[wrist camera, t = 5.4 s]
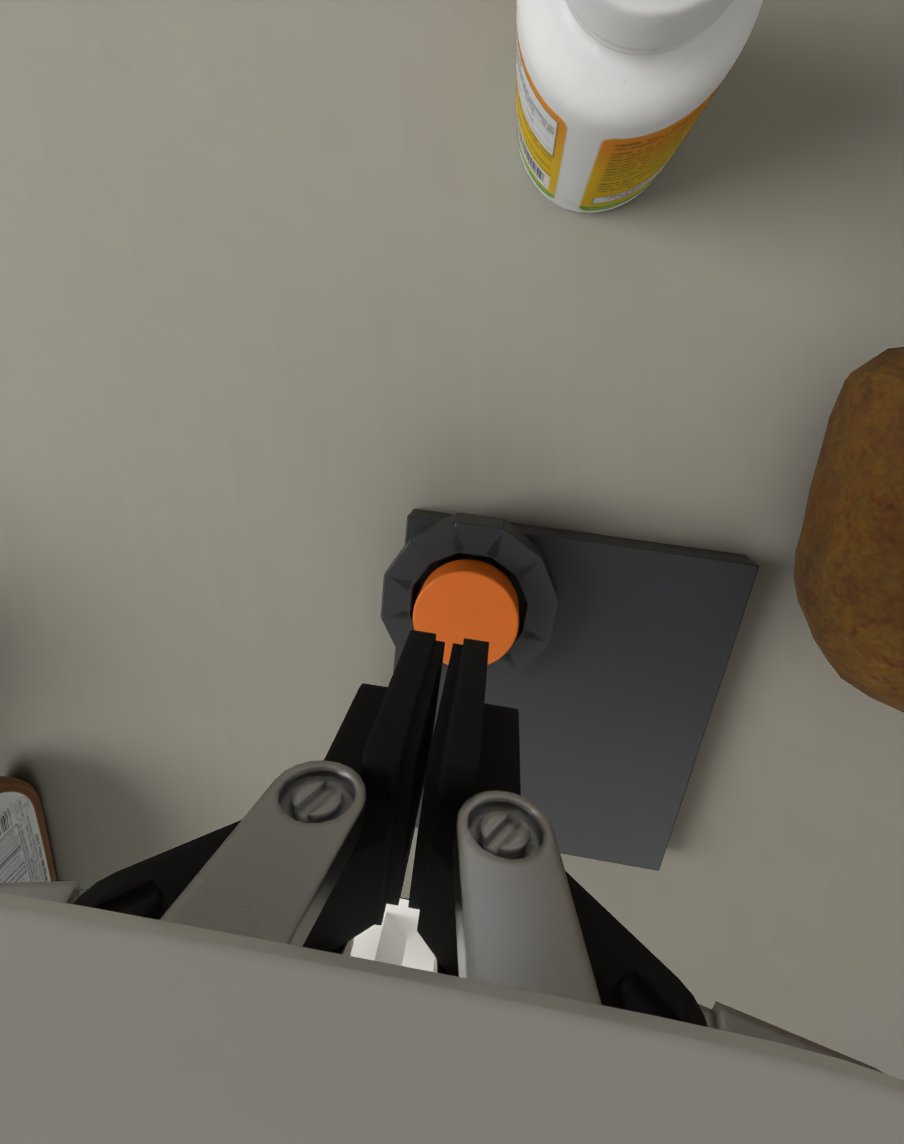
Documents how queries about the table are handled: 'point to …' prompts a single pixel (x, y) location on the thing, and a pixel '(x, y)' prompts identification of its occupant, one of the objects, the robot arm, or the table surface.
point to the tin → (23, 835)
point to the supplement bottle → (616, 89)
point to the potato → (859, 533)
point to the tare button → (468, 607)
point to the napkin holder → (395, 940)
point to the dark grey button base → (594, 667)
